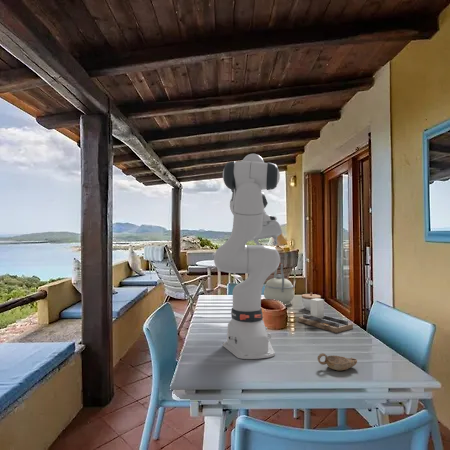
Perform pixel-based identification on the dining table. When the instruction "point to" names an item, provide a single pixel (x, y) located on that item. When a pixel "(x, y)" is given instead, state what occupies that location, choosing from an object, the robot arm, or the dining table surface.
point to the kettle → (279, 288)
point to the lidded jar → (308, 300)
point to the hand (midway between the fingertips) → (268, 246)
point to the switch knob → (317, 308)
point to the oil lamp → (337, 362)
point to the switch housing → (326, 323)
